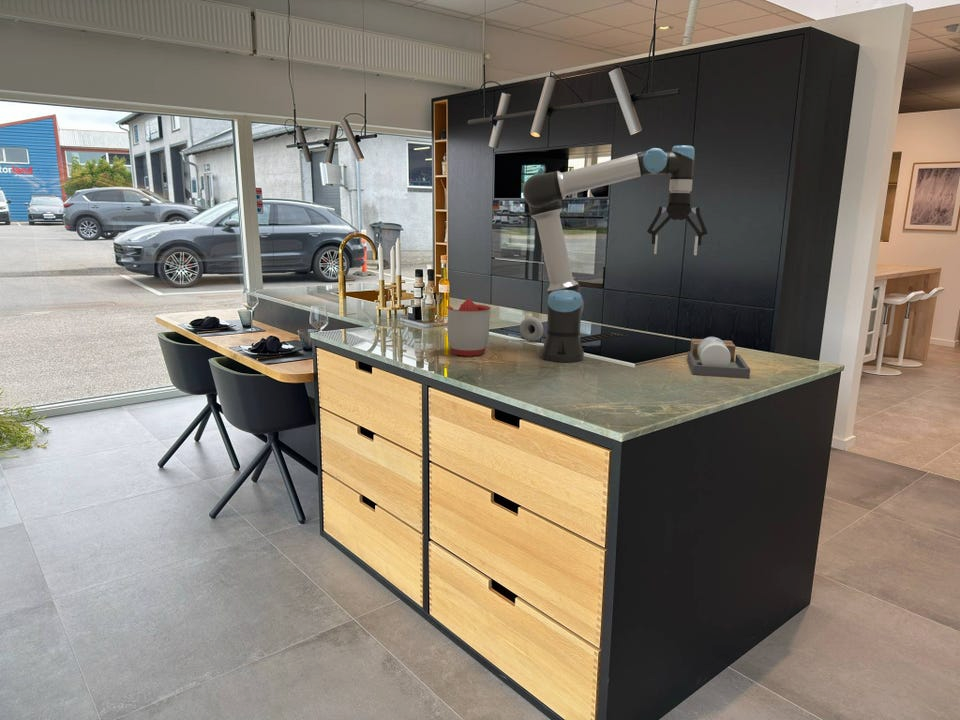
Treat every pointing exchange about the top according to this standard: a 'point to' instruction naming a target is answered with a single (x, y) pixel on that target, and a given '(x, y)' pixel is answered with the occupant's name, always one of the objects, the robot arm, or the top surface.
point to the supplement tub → (713, 352)
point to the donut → (537, 326)
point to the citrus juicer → (468, 328)
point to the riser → (696, 341)
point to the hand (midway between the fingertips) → (675, 254)
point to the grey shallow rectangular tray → (720, 368)
